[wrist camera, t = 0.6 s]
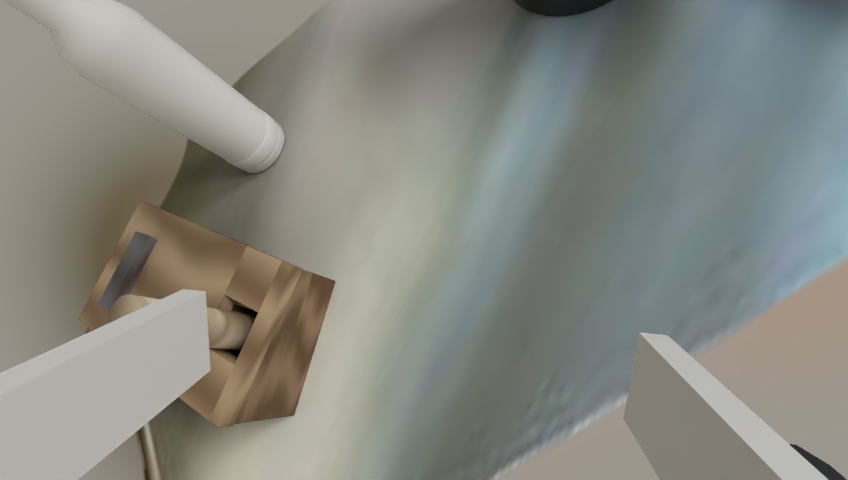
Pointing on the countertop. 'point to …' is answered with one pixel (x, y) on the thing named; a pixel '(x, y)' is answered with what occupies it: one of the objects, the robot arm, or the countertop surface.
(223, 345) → the pin
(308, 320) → the toolbox
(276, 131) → the bottle
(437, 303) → the countertop surface
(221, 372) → the toolbox lid
